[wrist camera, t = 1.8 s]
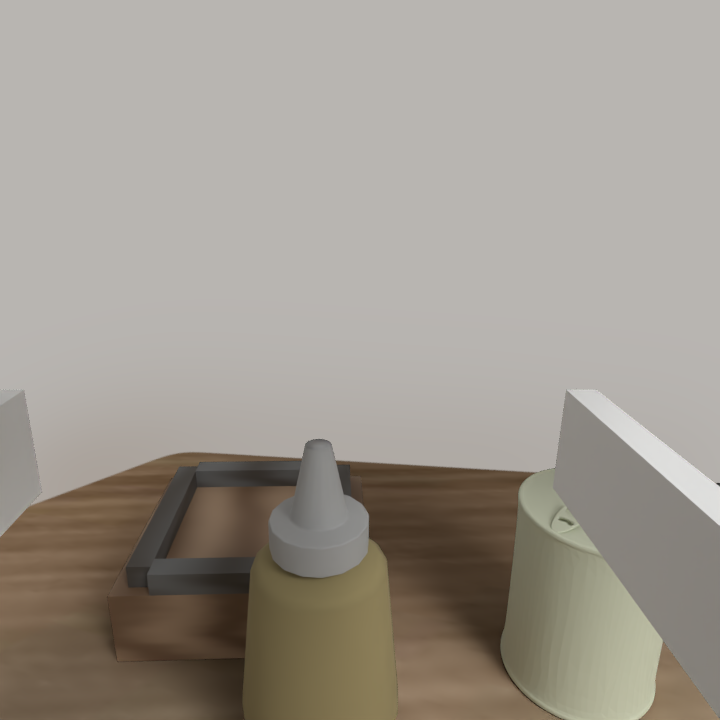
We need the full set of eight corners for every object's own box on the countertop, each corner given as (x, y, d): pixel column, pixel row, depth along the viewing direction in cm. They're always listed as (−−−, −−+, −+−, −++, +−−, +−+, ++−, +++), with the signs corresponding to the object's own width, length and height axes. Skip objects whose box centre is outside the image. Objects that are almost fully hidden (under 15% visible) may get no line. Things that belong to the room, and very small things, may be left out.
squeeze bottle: (425, 734, 31) (444, 438, 25) (330, 870, 25) (328, 519, 19) (315, 660, 35) (311, 397, 30) (213, 759, 29) (184, 451, 24)
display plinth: (360, 526, 49) (361, 460, 47) (370, 654, 36) (372, 570, 34) (176, 529, 48) (169, 462, 46) (117, 661, 35) (104, 575, 33)
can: (470, 648, 36) (485, 487, 33) (555, 591, 42) (576, 446, 38) (599, 762, 29) (637, 573, 26) (683, 676, 35) (724, 508, 31)
